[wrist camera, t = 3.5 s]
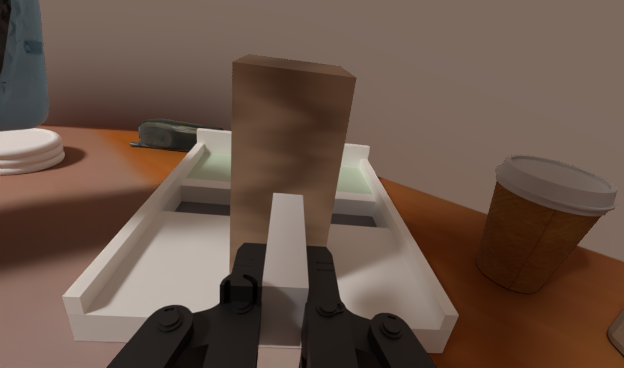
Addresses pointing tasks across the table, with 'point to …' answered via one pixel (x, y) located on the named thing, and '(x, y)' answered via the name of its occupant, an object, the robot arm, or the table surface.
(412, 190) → the table surface
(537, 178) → the disposable coffee cup
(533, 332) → the table surface
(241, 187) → the walnut block
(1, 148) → the coaster
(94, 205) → the table surface
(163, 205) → the board
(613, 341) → the wooden block
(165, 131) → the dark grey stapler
